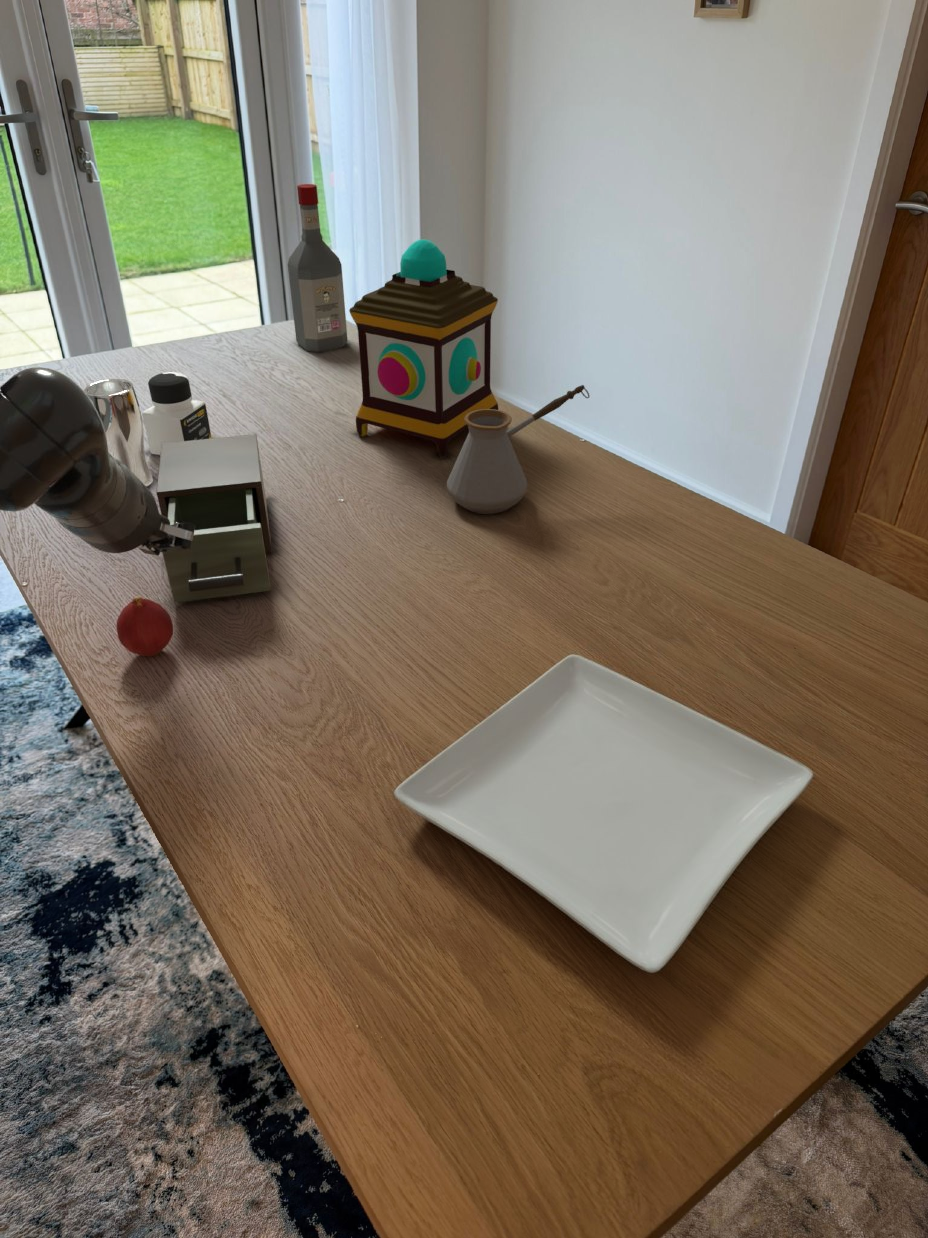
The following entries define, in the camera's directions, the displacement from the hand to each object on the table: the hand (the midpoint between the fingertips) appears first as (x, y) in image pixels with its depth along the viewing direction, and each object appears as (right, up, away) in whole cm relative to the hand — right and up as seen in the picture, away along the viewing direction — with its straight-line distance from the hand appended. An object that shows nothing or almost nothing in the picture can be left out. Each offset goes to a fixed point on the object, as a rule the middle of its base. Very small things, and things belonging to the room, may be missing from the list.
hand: (155, 545), depth 97 cm
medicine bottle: (-12, +19, +47) cm, 52 cm away
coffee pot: (+41, +10, +33) cm, 54 cm away
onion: (-1, -12, +3) cm, 13 cm away
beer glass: (-16, +12, +37) cm, 42 cm away
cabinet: (+1, +4, +25) cm, 25 cm away
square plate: (+46, -25, -16) cm, 55 cm away
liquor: (+4, +48, +87) cm, 100 cm away
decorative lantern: (+28, +24, +52) cm, 64 cm away
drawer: (+4, -3, +14) cm, 14 cm away
